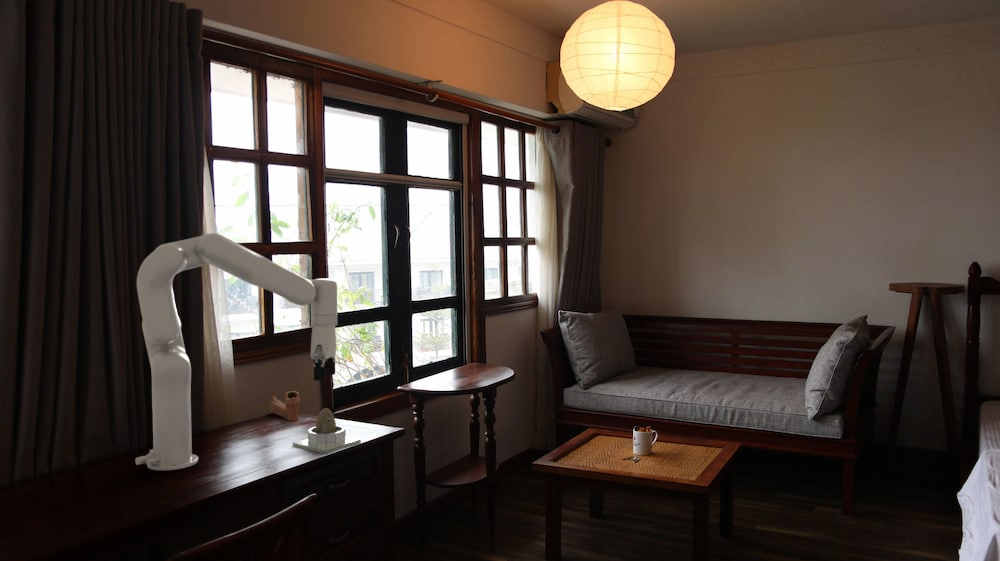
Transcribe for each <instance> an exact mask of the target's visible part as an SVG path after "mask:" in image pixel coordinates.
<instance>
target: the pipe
mask: <svg viewBox="0 0 1000 561" xmlns="http://www.w3.org/2000/svg"><path fill="white" fill-rule="evenodd" d="M299 395H300V393H299V391H295V390H290V391H287V392H285V398H284V402H283V401H282V400H280V399H278V398H277V397H276V395H273V396H272V397H271V399H272V401H270V402H269V410H270V413H271V414H274V415H277V416H280V417H282V418H284V419H285V420H287V421H290V422H297V421H298V420H299V406H300V402H301V399H300V396H299Z"/></svg>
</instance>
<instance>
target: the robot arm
mask: <svg viewBox="0 0 1000 561" xmlns="http://www.w3.org/2000/svg"><path fill="white" fill-rule="evenodd" d="M207 265H212V266H213V267H215V268H216V269H217V268H218V269H220V270H221V271H223V272H225V273H228V274H229V275H232V276H234V277H235V278H237V279H239V280H241V281H243V282H246V283H248V284H250V285H252V286H256V287H259V288H262V289H264V290H267V291H269V292H271V293H274V294H276V295H278V296H280V297H281V298H283V299H284V300H285V299H286V301H288V302H289V303H291V304H294V305H297V306H300V307H301V306H306V305H309V304H310V305H311V306H310V307H311V309H310V310H311V312H310V313H311V326H312V328H311V330H312V331H311V340H310V343H311V344H310V358H311V359H312V360H313V361H312V362H313V380H314V381H316V382H317V381H320V382H323V381H325V380H326V375H331V376H332V375H334V376H335V374H336V353H337V352H336V351H337V339H336V338H337V337H336V326H338V283H337V281H336V280H335V279H334V278H315V279H307V278H305V277H303V276H301V275H299V274H298V273H297V274H296V273H294V272H293V271H290V270H289V269H287V268H285V267H283V266H281V265H279V264H277V263H275V262H273V261H272V260H270V259H269V258H267V257H265V256H263V255H261V254H259V253H257V252H255V251H254V250H251V249H249V248H247V247H246V246H243V245H241V244H239V243H237V242H235V241H234V240H232V239H231V238H227V237H226V236H224V235H221V234H219V233H215V232H212V233H207V234H202V235H199V236H195V237H191V238H186V239H182V240H177V241H172V242H167V243H164V244H163V243H162V244H161V245H158V247H156V248H155V250H153V251H152V252H151V253H150V254H149V255H147V257H146V258H144V260H143V261H142V263H141V264H140V267H139V270H138V272H137V275H136V276H137V277H136V290H137V296H138V302H139V308H140V314H141V317H142V323H141V328H142V333H143V337H144V342H145V347H146V351H147V356H148V361H149V364H150V369H151V405H152V406H151V408H152V435H153V436H152V439H153V440H152V444H153V448H152V449H149V452H148V453H147V454H146V455H142V456H139V457H137V456H136V458H135V459H134V462H135V464H136V465H137V466H138V465H143V464H146V466H147V468H148V469H149V470H153V471H174V470H176V471H177V470H181V469H186V468H188V467H191V466H194V465H196V464H197V463H198V462H199V456H198V455H196V454H193V448H192V442H193V441H192V440H193V439H192V400H191V398H192V396H191V395H192V394H191V393H192V392H191V391H192V390H191V389H192V388H191V386H192V385H191V384H192V366H191V361H190V358H189V356H188V354H187V353H186V352H187V351H186V348H185V343H184V338H183V334H182V322H181V319H180V316H179V315H178V310H177V307H176V302H175V294H174V289H173V288H174V287H173V281H174V278H175V276H176V275H177V274H179V273H181V272H183V271H187V270H191V269H195V268H199V267H203V266H207Z"/></svg>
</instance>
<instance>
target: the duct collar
mask: <svg viewBox="0 0 1000 561" xmlns="http://www.w3.org/2000/svg"><path fill="white" fill-rule="evenodd" d="M346 432H347V431H346V428H345V426H344V425H342V426H341V425H338V424H336V432H335V433H326V434H325V433H316V426H313V427H310V428H309V429H308V430H307V438H305V439H301V440H298V441H294V442H292V447H295V448H299V449H303V450H308V451H312V452H317V453H321V454H329V453H332V452H335V451H339V450H342V449H344V448H347V447H351V446H353V445H357V444H360V443H361V442H362V440H361V438H356V437H351V436H347V435H346Z"/></svg>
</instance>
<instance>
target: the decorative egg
mask: <svg viewBox="0 0 1000 561" xmlns="http://www.w3.org/2000/svg"><path fill="white" fill-rule="evenodd" d="M336 425H337V423H336V420H335V417H334V414H333V412H332V411H331V410H330V409H329V408H327V407H325V408H323V409H322V410H320V412H319V414H318V417H317V419H316V423H315V427H316V433H325V434H326V433H335V432H336Z"/></svg>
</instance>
